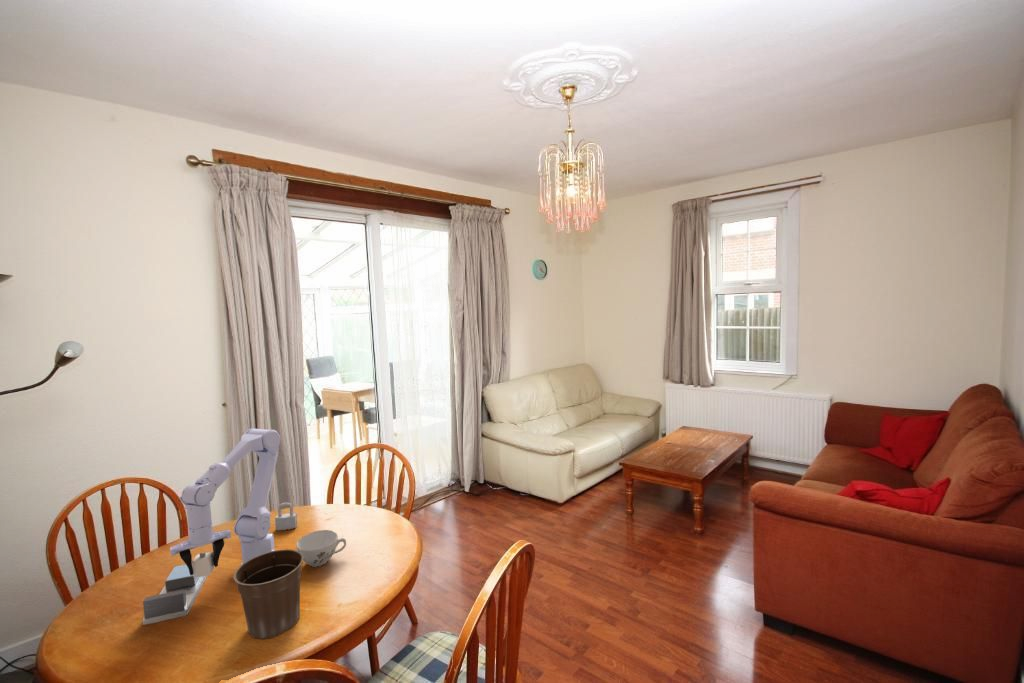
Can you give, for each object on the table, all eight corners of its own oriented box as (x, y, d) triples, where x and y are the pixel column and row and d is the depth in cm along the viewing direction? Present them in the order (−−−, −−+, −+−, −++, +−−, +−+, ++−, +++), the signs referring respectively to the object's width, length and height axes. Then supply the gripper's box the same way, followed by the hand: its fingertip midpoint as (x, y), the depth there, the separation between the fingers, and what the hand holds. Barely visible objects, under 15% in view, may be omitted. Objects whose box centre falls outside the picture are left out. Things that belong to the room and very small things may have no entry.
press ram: (202, 569, 144) (202, 561, 143) (194, 584, 136) (193, 575, 136) (175, 575, 141) (175, 566, 141) (165, 590, 133) (165, 581, 133)
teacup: (294, 576, 141) (292, 552, 141) (300, 556, 153) (299, 533, 153) (345, 567, 146) (344, 543, 145) (348, 548, 158) (346, 525, 157)
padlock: (298, 524, 176) (296, 499, 175) (294, 529, 172) (293, 504, 171) (278, 526, 175) (277, 501, 174) (275, 531, 171) (273, 505, 170)
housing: (214, 567, 135) (212, 548, 135) (209, 575, 131) (207, 555, 131) (199, 570, 134) (197, 550, 134) (193, 578, 130) (191, 558, 130)
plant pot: (229, 652, 110) (224, 590, 109) (247, 610, 126) (243, 555, 125) (302, 637, 115) (297, 576, 114) (311, 598, 130) (307, 544, 129)
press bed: (208, 573, 144) (206, 554, 144) (187, 615, 125) (185, 592, 124) (170, 581, 141) (169, 561, 140) (142, 625, 121) (140, 602, 121)
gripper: (226, 512, 139) (229, 554, 140) (167, 528, 130) (171, 574, 131) (231, 519, 134) (234, 563, 135) (170, 537, 124) (174, 584, 126)
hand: (203, 569), depth 133 cm, fingers closed on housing, 5 cm apart
